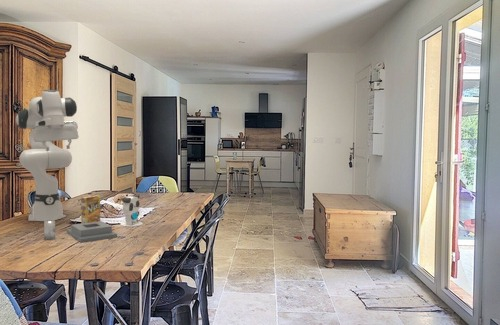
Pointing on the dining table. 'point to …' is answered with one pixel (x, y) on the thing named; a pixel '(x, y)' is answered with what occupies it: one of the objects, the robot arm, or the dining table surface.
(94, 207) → the candy box
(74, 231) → the socket housing
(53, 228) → the metal pin
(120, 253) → the dining table surface
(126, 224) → the panda figurine
